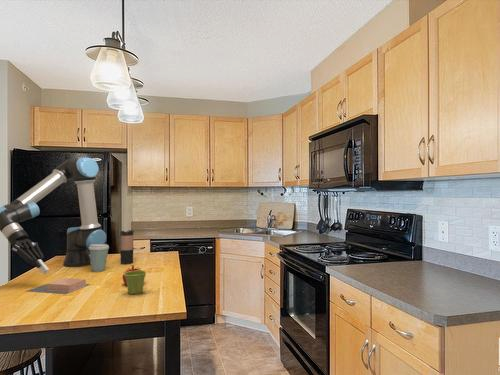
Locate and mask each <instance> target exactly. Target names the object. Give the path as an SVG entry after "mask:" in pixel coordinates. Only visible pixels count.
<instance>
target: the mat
mask: <svg viewBox="0 0 500 375" xmlns="http://www.w3.org/2000/svg"><path fill="white" fill-rule="evenodd" d="M46 284H47V283H46ZM46 284H43V285H39V286H37V287H34V288H33V287H32V288H30V289H28V290H25V292H29V293H30V292H31V293H40V294H42V293H44V294H55V295H58V294H59V295H68V294H71V293H73V292H75V291H78V290H81V289H83V288H86V287H88V286H91V285H92V284H90V283H86V286H84V287H81V288H79V289H76V290H74V291H71V292H61V291H47V290H46Z"/></svg>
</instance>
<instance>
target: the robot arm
mask: <svg viewBox="0 0 500 375" xmlns="http://www.w3.org/2000/svg"><path fill="white" fill-rule="evenodd" d="M99 169H100V168H99V165H98V163H97V161H96V160H94V158H91V157H86V156H83V157H76V158H74V157H73V158H69V159H67V160H65V161H64V162H62V163H60V164H59V165H58V166H57V167H55V168H54V169H53V170H52V173H50V174H49V175H48V176H46V177H45V178H43V179H42V180H41V181H39V182H38V183H37V184H35V185H34V186H32V187H31V188H30V189H28V190H27V191H26V192H24V193H23V194H21V195H19V197H17V198H16V199H14V201H12V202H10V203H6V204H4V205H3V206H0V233H1V234H2V235H3V236H4V237H5V238H6V239H7V241H8V243H9V244H10V245H11V246H13V247H12V248H11V251H12V252H13V253H16V255H18V256H19V257H20V258H21V259H23V261H25V262H26V263H27V264H30V265H31V266H33V265H34V266H35V267H36V268H37V269H38V270H39V271H40V273H42V275H44V274H46V273H48V271H49V270H50V268H49V267H48V266H47V265H46V263H45V262H44V261H43V259H44V257H45V256H44V254H43V252H42V250H41V249H40V247H39V242H38V241H35V242H33V241H32V240H31V239H29V235H28V233H27V232H26V231H25V230H24V228H23V227H22V226H21V225H20V224H19V223H21V222H22V223H23V222H24V221H27V220H30V219H34V218H35V217H38V216H39V215H40V207H39V206H38V204H37V203H38V202H39V201H41V200H42V199H43V198H45V197H46V196H47V195H48V194H50V193H51V192H53V190H55V189H56V188H58V187H60V185H61V184H63V183H65V184H66V183H67V182H68V181H70V180H72V181H73V182H74V184H76V187H77V194H78V203H79V210H80V213H79V214H80V221H81V226H75V227H73V226H72V227H68V229H66V230H67V231H66V254H65V257H64V259H63V266H64V268H65V267H66V268H67V267H68V268H75V267H76V268H77V267H84V266H85V267H86V266H88V265H91V259H90V252H89V246H90V245H91V244H106V241H107V234H106V232H105V231H104V230H103V229H102V225H101V224H100V223H99V221H98V212H97V202H96V197H95V195H96V194H95V187H94V186H95V185H94V183H95V181H96V180H97V179H96V176H97V174H99V171H100V170H99Z"/></svg>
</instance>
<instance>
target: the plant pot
mask: <svg viewBox="0 0 500 375" xmlns="http://www.w3.org/2000/svg"><path fill="white" fill-rule="evenodd" d="M125 272H126V271H125ZM125 272H123V274H124V275H125V278H126V282H127V286H126V287H127V288H126V289H127V294H129V295H139V294H142V293H143V292H144V284H145V277H146V274H147V271H146V270H142V271H130V272H126V273H125Z"/></svg>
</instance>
